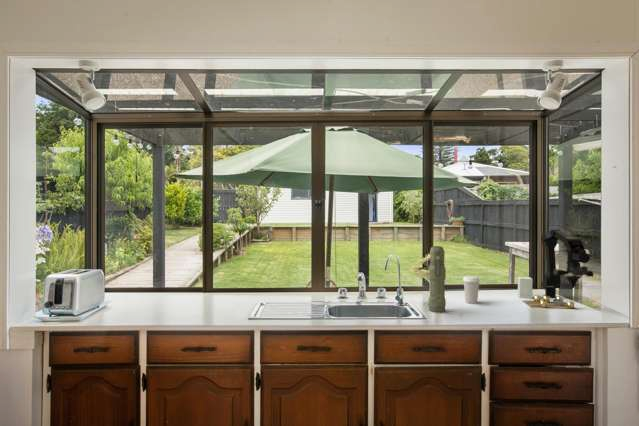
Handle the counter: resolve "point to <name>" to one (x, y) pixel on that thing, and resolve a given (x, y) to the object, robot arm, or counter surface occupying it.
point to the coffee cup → (471, 289)
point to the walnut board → (549, 305)
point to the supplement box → (525, 287)
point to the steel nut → (558, 302)
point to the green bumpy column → (437, 280)
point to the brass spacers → (547, 300)
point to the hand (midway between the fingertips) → (572, 287)
